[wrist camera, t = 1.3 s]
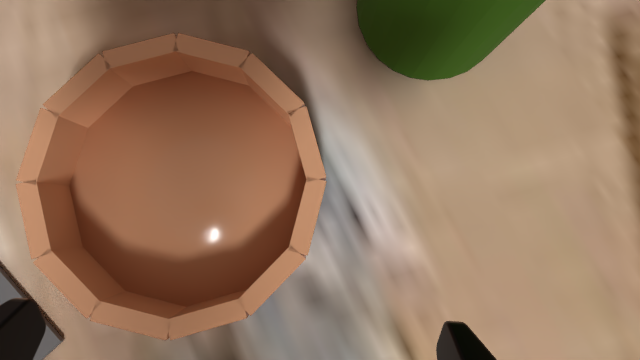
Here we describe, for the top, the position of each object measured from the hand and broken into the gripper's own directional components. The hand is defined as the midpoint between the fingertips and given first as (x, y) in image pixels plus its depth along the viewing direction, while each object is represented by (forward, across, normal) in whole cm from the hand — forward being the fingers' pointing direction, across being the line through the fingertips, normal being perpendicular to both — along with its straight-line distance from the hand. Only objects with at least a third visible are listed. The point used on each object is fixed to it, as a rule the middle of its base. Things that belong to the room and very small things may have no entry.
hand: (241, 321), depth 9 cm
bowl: (+14, +6, +6) cm, 16 cm away
